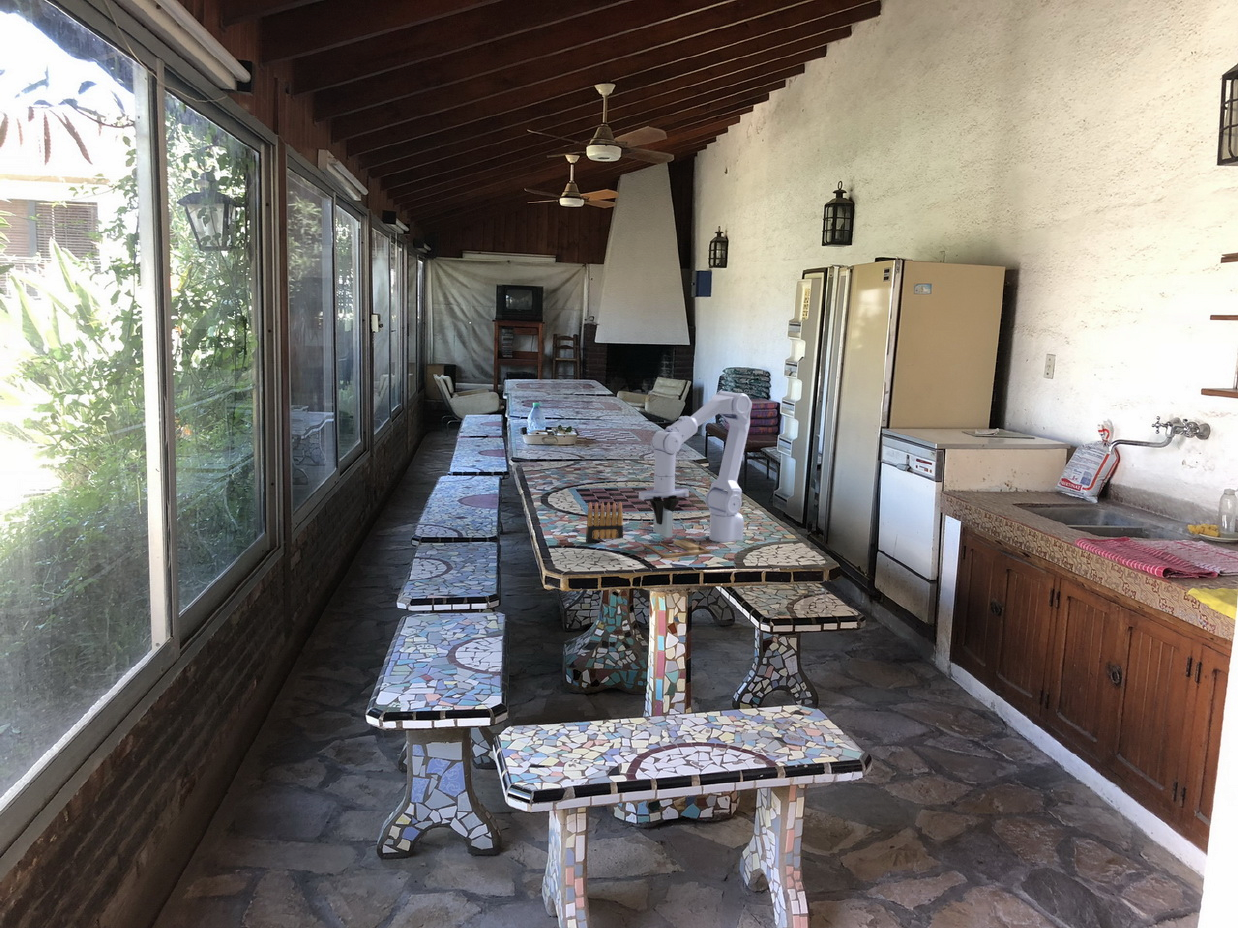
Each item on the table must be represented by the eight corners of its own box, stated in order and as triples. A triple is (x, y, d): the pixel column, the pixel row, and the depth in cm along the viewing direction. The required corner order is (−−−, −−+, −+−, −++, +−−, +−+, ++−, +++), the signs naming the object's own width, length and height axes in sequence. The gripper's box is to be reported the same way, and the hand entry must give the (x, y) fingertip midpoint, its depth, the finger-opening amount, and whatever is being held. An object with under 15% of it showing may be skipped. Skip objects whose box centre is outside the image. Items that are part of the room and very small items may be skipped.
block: (659, 530, 243) (659, 506, 242) (672, 537, 236) (673, 512, 235) (653, 530, 242) (653, 506, 241) (666, 537, 235) (667, 512, 234)
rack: (686, 545, 249) (686, 538, 248) (710, 557, 237) (710, 550, 236) (641, 549, 243) (642, 542, 243) (663, 562, 231) (663, 555, 231)
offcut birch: (683, 544, 248) (683, 541, 248) (700, 553, 239) (700, 550, 239) (672, 545, 246) (673, 542, 246) (689, 555, 237) (689, 551, 237)
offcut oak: (683, 542, 247) (683, 539, 247) (698, 549, 240) (698, 546, 240) (674, 543, 245) (674, 540, 245) (689, 550, 239) (689, 547, 238)
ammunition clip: (621, 540, 252) (622, 500, 250) (623, 542, 250) (624, 501, 248) (585, 541, 250) (586, 501, 248) (586, 543, 248) (587, 502, 246)
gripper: (681, 471, 243) (679, 518, 245) (634, 473, 237) (633, 522, 239) (693, 475, 236) (691, 523, 239) (645, 478, 231) (644, 528, 233)
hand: (663, 523), depth 239 cm, fingers closed on block, 2 cm apart
